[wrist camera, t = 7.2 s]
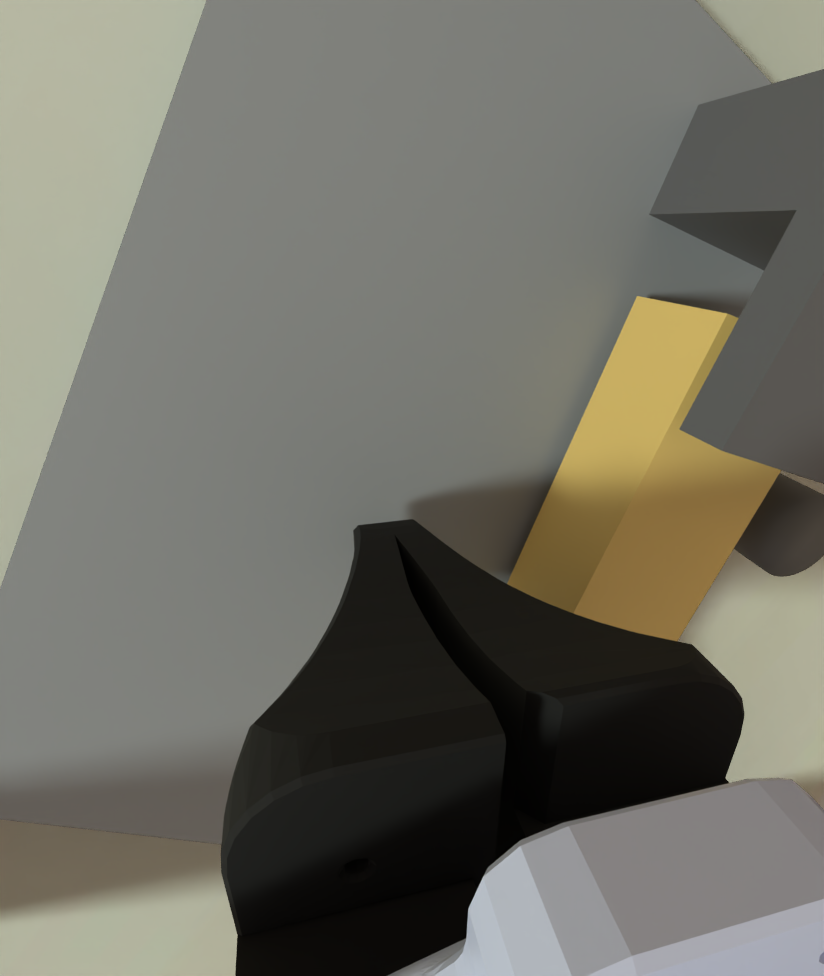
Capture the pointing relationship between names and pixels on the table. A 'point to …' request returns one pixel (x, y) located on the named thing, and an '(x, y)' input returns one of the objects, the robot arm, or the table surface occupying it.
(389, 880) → the robot arm
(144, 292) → the base
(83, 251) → the table surface
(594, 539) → the link
